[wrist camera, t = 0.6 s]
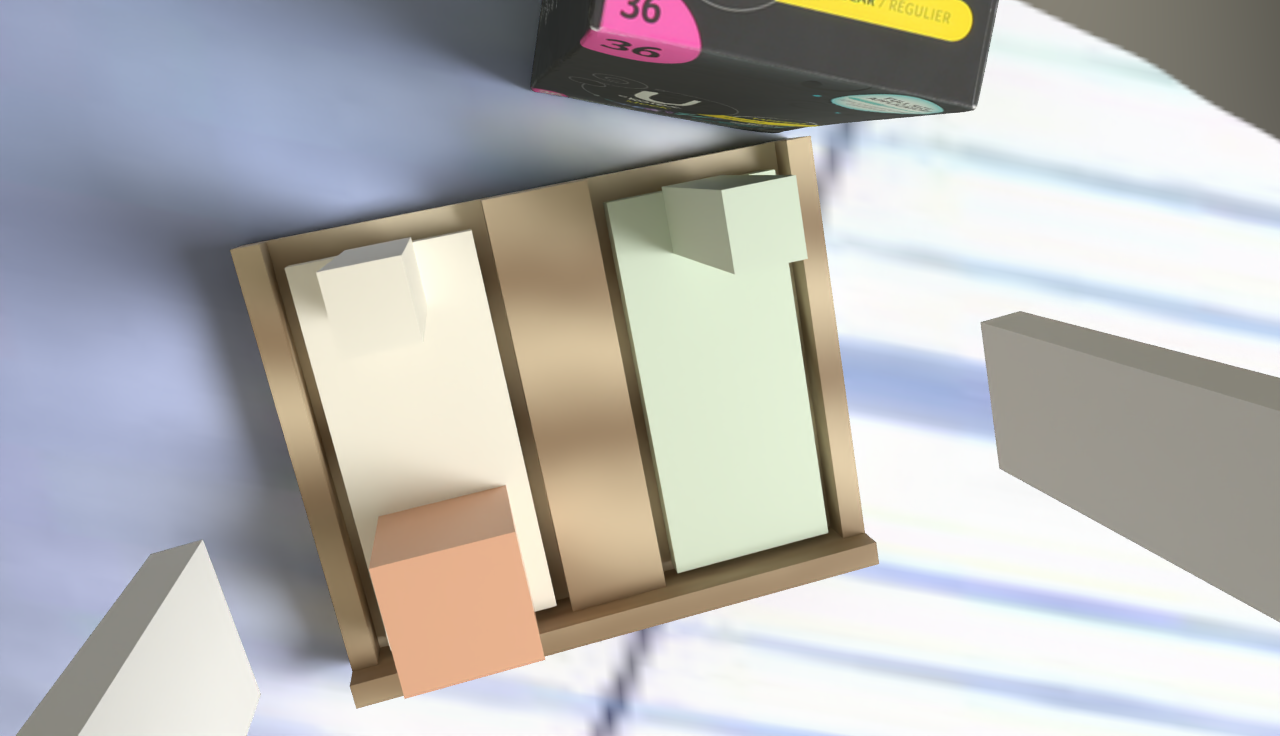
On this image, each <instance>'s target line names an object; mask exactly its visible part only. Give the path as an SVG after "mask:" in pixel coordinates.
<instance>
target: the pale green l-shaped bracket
mask: <svg viewBox="0 0 1280 736" xmlns="http://www.w3.org/2000/svg"><path fill="white" fill-rule="evenodd" d="M603 207H604V212H605V217H606V222H607V227H608V233H609V238H610V243H611V248H612V254H613V259H614V264H615V269H616V274H617V280H618V285H619V290H620V295H621V300H622V306H623V311H624V316H625V321H626V326H627V332H628V337H629V342H630V347H631V352H632V358H633V363H634V368H635V373H636V378H637V384H638V389H639V394H640V399H641V404H642V410H643V415H644V420H645V425H646V431H647V436H648V441H649V446H650V451H651V457H652V462H653V467H654V472H655V477H656V483H657V488H658V493H659V498H660V503H661V509H662V514H663V519H664V524H665V529H666V535H667V540H668V545H669V550H670V555H671V561H672V564H673V566H674V568H675V570H676V571H677V573H681V572H685V571H688V570H692V569H696V568H699V567H703V566H707V565H711V564H714V563H718V562H722V561H725V560H729V559H733V558H737V557H740V556H744V555H748V554H751V553H755V552H759V551H763V550H766V549H770V548H774V547H777V546H781V545H785V544H789V543H792V542H796V541H800V540H804V539H807V538H811V537H815V536H818V535H822V534H826V533H828V527H827V520H826V513H825V506H824V500H823V493H822V486H821V479H820V472H819V466H818V459H817V452H816V445H815V438H814V432H813V425H812V418H811V411H810V404H809V397H808V391H807V384H806V377H805V370H804V363H803V357H802V350H801V343H800V336H799V329H798V323H797V316H796V309H795V302H794V295H793V289H792V282H791V275H790V268H789V263H791V262H795V261H800V260H804V259H808V257H807V250H806V243H805V236H804V229H803V221H802V214H801V207H800V200H799V193H798V186H797V179H796V175H776V173H775V169H770V170H762V171H757V172H752V173H747V174H742V175H718V176H713V177H708V178H703V179H698V180H693V181H688V182H683V183H678V184H673V185H668V186H663V187H662V191H657V192H652V193H647V194H642V195H637V196H632V197H627V198H622V199H617V200H612V201H607V202H603Z"/></svg>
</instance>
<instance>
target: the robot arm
mask: <svg viewBox="0 0 1280 736" xmlns="http://www.w3.org/2000/svg"><path fill="white" fill-rule="evenodd" d="M981 330H982V337H983V345H984V353H985V360H986V368H987V376H988V384H989V391H990V399H991V407H992V414H993V422H994V430H995V437H996V445H997V453H998V460H999V468H1000V469H1001V470H1003V471H1005V472H1007V473H1009V474H1011V475H1012V476H1014V477H1016V478H1018V479H1020V480H1022V481H1023V482H1025V483H1027V484H1029V485H1031V486H1032V487H1034V488H1036V489H1038V490H1040V491H1042V492H1043V493H1045V494H1047V495H1049V496H1051V497H1052V498H1054V499H1056V500H1058V501H1060V502H1062V503H1063V504H1065V505H1067V506H1069V507H1071V508H1072V509H1074V510H1076V511H1078V512H1080V513H1082V514H1083V515H1085V516H1087V517H1089V518H1091V519H1093V520H1094V521H1096V522H1098V523H1100V524H1102V525H1103V526H1105V527H1107V528H1109V529H1111V530H1113V531H1114V532H1116V533H1118V534H1120V535H1122V536H1123V537H1125V538H1127V539H1129V540H1131V541H1133V542H1134V543H1136V544H1138V545H1140V546H1142V547H1144V548H1145V549H1147V550H1149V551H1151V552H1153V553H1154V554H1156V555H1158V556H1160V557H1162V558H1164V559H1165V560H1167V561H1169V562H1171V563H1173V564H1174V565H1176V566H1178V567H1180V568H1182V569H1184V570H1185V571H1187V572H1189V573H1191V574H1193V575H1195V576H1196V577H1198V578H1200V579H1202V580H1204V581H1205V582H1207V583H1209V584H1211V585H1213V586H1215V587H1216V588H1218V589H1220V590H1222V591H1224V592H1225V593H1227V594H1229V595H1231V596H1233V597H1235V598H1236V599H1238V600H1240V601H1242V602H1244V603H1246V604H1247V605H1249V606H1251V607H1253V608H1255V609H1256V610H1258V611H1260V612H1262V613H1264V614H1266V615H1267V616H1269V617H1271V618H1273V619H1275V620H1276V621H1278V622H1280V378H1278V377H1274V376H1270V375H1266V374H1262V373H1259V372H1255V371H1251V370H1247V369H1243V368H1239V367H1235V366H1231V365H1227V364H1224V363H1220V362H1216V361H1212V360H1208V359H1204V358H1200V357H1196V356H1192V355H1189V354H1185V353H1181V352H1177V351H1173V350H1169V349H1165V348H1161V347H1158V346H1154V345H1150V344H1146V343H1142V342H1138V341H1134V340H1130V339H1126V338H1123V337H1119V336H1115V335H1111V334H1107V333H1103V332H1099V331H1095V330H1091V329H1088V328H1084V327H1080V326H1076V325H1072V324H1068V323H1064V322H1060V321H1056V320H1053V319H1049V318H1045V317H1041V316H1037V315H1033V314H1029V313H1025V312H1021V311H1019V312H1016V313H1012V314H1008V315H1005V316H1001V317H998V318H994V319H991V320H987V321H983V322H981ZM260 695H261V693H260V691H259V688H258V685H257V683H256V680H255V677H254V675H253V672H252V669H251V667H250V664H249V661H248V659H247V656H246V653H245V651H244V648H243V645H242V643H241V640H240V637H239V635H238V632H237V629H236V627H235V624H234V621H233V619H232V616H231V613H230V611H229V608H228V605H227V603H226V600H225V597H224V595H223V592H222V589H221V587H220V584H219V581H218V579H217V576H216V573H215V571H214V568H213V565H212V563H211V560H210V557H209V555H208V552H207V550H206V547H205V544H204V542H203V540H200V541H196V542H192V543H189V544H185V545H182V546H178V547H174V548H171V549H167V550H164V551H160V552H157V553H153V554H151V555H150V556H149V557H148V559H147V560H146V561H145V563H144V564H143V565H142V567H141V568H140V569H139V571H138V572H137V573H136V575H135V576H134V577H133V579H132V580H131V581H130V583H129V584H128V585H127V587H126V588H125V590H124V591H123V592H122V594H121V595H120V596H119V598H118V599H117V600H116V602H115V603H114V604H113V606H112V607H111V608H110V610H109V611H108V612H107V614H106V615H105V616H104V618H103V619H102V620H101V622H100V623H99V624H98V626H97V627H96V628H95V630H94V631H93V632H92V634H91V635H90V636H89V638H88V639H87V641H86V642H85V643H84V645H83V646H82V647H81V649H80V650H79V651H78V653H77V654H76V655H75V657H74V658H73V659H72V661H71V662H70V663H69V665H68V666H67V667H66V669H65V670H64V671H63V673H62V674H61V675H60V677H59V678H58V679H57V681H56V682H55V683H54V685H53V686H52V688H51V689H50V690H49V692H48V693H47V694H46V696H45V697H44V698H43V700H42V701H41V702H40V704H39V705H38V706H37V708H36V709H35V710H34V712H33V713H32V714H31V716H30V717H29V718H28V720H27V721H26V722H25V724H24V725H23V726H22V728H21V729H20V730H19V732H18V733H17V735H16V736H247V733H248V730H249V727H250V724H251V722H252V719H253V716H254V713H255V710H256V707H257V704H258V701H259V698H260Z"/></svg>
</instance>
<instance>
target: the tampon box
mask: <svg viewBox="0 0 1280 736" xmlns="http://www.w3.org/2000/svg"><path fill="white" fill-rule="evenodd" d="M998 2H999V0H542V4H541V11H540V18H539V26H538V33H537V40H536V48H535V55H534V63H533V70H532V77H531V85H530V87H531V89H532V91H534V92H541V93H547V94H552V95H558V96H565V97H569V98H574V99H579V100H584V101H589V102H594V103H600V104H605V105H610V106H616V107H621V108H626V109H631V110H636V111H642V112H647V113H653V114H658V115H664V116H669V117H675V118H681V119H686V120H692V121H698V122H704V123H710V124H715V125H721V126H727V127H733V128H739V129H745V130H752V131H760V132H768V133H780V132H783V131H788V130H794V129H799V128H804V127H812V126H822V125H831V124H839V123H848V122H859V121H869V120H882V119H892V118H904V117H914V116H924V115H935V114H946V113H959V112H966V111H971V110H974V109H976V107H977V104H978V100H979V95H980V91H981V86H982V81H983V76H984V72H985V67H986V62H987V57H988V52H989V47H990V42H991V37H992V32H993V27H994V22H995V17H996V12H997V7H998Z"/></svg>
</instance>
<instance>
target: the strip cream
mask: <svg viewBox="0 0 1280 736" xmlns="http://www.w3.org/2000/svg"><path fill="white" fill-rule="evenodd" d="M285 272H286V276H287V279H288V283H289V286H290V290H291V294H292V297H293V301H294V304H295V308H296V312H297V315H298V319H299V322H300V326H301V330H302V333H303V337H304V340H305V344H306V348H307V351H308V355H309V358H310V362H311V366H312V369H313V373H314V376H315V380H316V384H317V387H318V391H319V394H320V398H321V401H322V405H323V409H324V412H325V416H326V419H327V423H328V427H329V430H330V434H331V437H332V441H333V445H334V448H335V452H336V455H337V459H338V463H339V466H340V470H341V473H342V477H343V481H344V484H345V488H346V491H347V495H348V499H349V502H350V506H351V509H352V513H353V517H354V520H355V524H356V527H357V531H358V535H359V538H360V542H361V545H362V549H363V553H364V556H365V560H366V563H367V567H368V571H369V565H370V559H371V554H372V549H373V543H374V538H375V533H376V528H377V522H378V517H379V516H383V515H387V514H391V513H395V512H399V511H403V510H407V509H411V508H415V507H419V506H423V505H427V504H432V503H436V502H440V501H444V500H448V499H452V498H456V497H460V496H464V495H468V494H472V493H476V492H480V491H484V490H488V489H492V488H497V487H501V486H505V485H506V488H507V492H508V497H509V501H510V505H511V509H512V514H513V518H514V522H515V527H516V531H517V535H518V539H519V544H520V548H521V552H522V557H523V561H524V565H525V569H526V574H527V578H528V582H529V587H530V591H531V595H532V599H533V604H534V609H535V612H536V611H540V610H543V609H547V608H551V607H554V606H557V604H556V600H555V596H554V591H553V587H552V582H551V578H550V574H549V569H548V565H547V560H546V556H545V552H544V547H543V543H542V538H541V534H540V530H539V525H538V521H537V516H536V512H535V508H534V503H533V499H532V494H531V490H530V486H529V481H528V477H527V472H526V468H525V464H524V459H523V455H522V450H521V446H520V442H519V437H518V433H517V428H516V424H515V420H514V415H513V411H512V406H511V402H510V398H509V393H508V389H507V384H506V380H505V376H504V371H503V367H502V362H501V358H500V353H499V349H498V345H497V340H496V336H495V331H494V327H493V323H492V318H491V314H490V309H489V305H488V301H487V296H486V292H485V287H484V283H483V279H482V274H481V270H480V265H479V261H478V257H477V252H476V248H475V243H474V239H473V235H472V230H471V229H468V230H463V231H458V232H453V233H448V234H443V235H438V236H433V237H428V238H423V239H418V240H413V241H412V239H411V237H408V238H403V239H398V240H393V241H388V242H383V243H378V244H373V245H368V246H363V247H358V248H353V249H348V250H344V251H343V252H342V253H341V254H339V255H338V256H333V257H328V258H324V259H319V260H314V261H309V262H304V263H299V264H294V265H289V266H287V267H285ZM369 574H370V572H369ZM370 578H371V575H370ZM371 581H372V579H371ZM372 585H373V583H372ZM373 589H374V586H373ZM374 592H375V590H374ZM375 596H376V593H375ZM376 599H377V597H376ZM377 603H378V601H377ZM378 607H379V604H378ZM379 610H380V608H379ZM380 614H381V611H380ZM381 617H382V615H381ZM382 621H383V619H382ZM383 625H384V622H383ZM384 628H385V626H384ZM385 632H386V629H385ZM386 635H387V633H386ZM387 639H388V637H387ZM388 643H389V640H388ZM389 646H390V644H389ZM390 650H391V647H390Z"/></svg>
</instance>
